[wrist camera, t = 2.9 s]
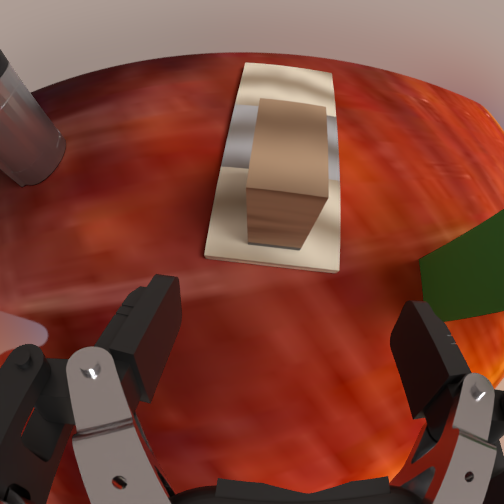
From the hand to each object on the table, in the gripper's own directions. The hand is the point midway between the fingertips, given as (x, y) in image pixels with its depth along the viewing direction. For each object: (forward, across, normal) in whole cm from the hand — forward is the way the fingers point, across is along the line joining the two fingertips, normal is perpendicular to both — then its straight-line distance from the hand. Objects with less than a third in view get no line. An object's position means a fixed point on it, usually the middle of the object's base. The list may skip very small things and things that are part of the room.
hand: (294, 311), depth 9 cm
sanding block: (+20, 0, +3) cm, 20 cm away
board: (+27, 0, -2) cm, 27 cm away
